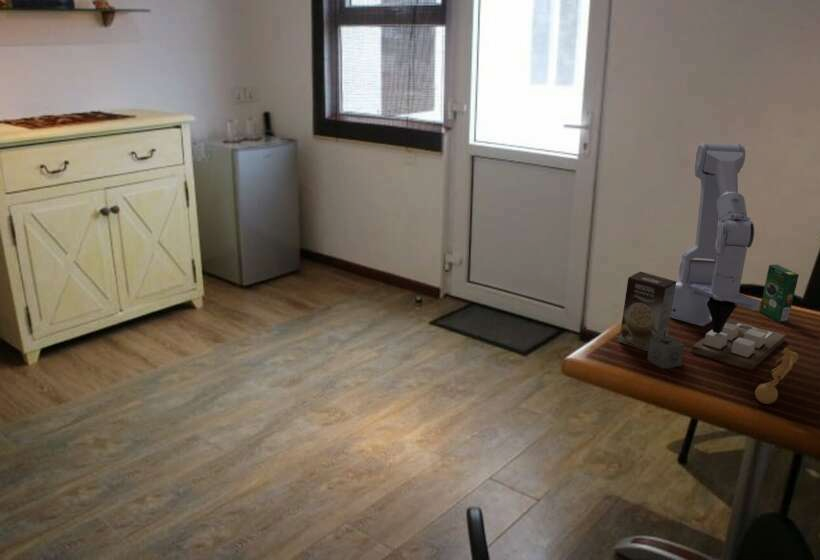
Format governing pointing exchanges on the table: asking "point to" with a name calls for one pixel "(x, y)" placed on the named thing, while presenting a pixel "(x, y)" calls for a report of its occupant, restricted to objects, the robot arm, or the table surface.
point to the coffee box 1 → (646, 309)
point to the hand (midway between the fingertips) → (717, 331)
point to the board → (726, 356)
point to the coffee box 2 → (778, 293)
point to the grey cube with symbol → (665, 352)
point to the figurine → (776, 378)
